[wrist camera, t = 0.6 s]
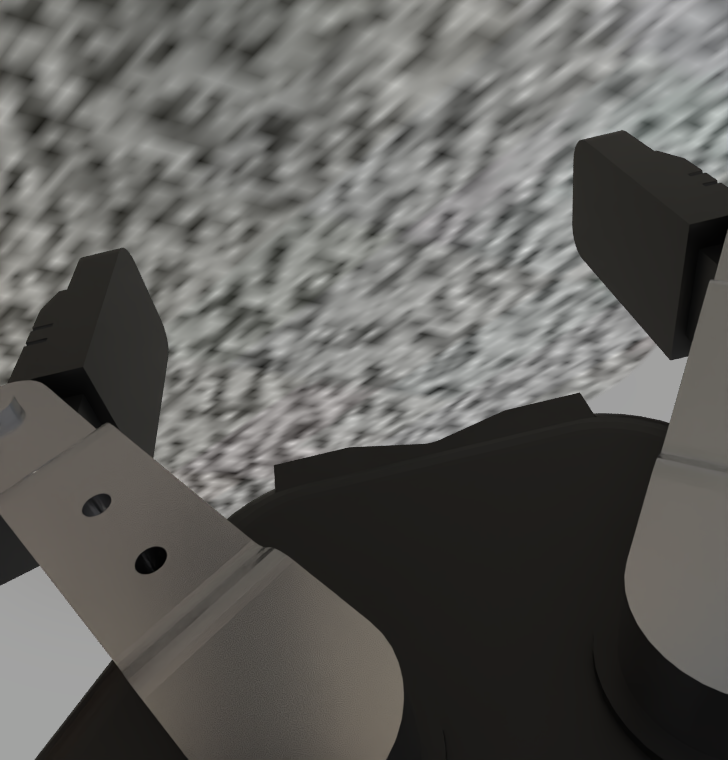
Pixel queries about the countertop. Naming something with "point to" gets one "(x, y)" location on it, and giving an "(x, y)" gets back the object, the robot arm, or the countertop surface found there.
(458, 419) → the countertop surface
